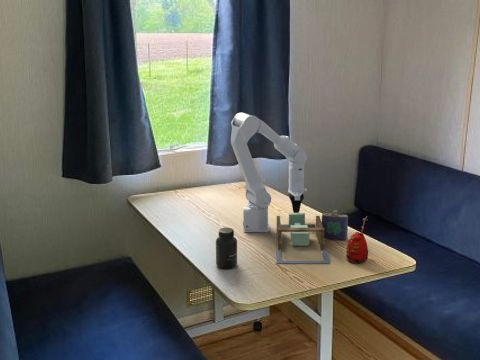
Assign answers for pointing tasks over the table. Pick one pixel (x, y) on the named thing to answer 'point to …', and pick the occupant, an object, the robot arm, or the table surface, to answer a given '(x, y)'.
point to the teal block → (298, 222)
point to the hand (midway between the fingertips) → (296, 212)
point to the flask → (335, 226)
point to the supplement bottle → (226, 249)
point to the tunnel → (318, 230)
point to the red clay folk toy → (357, 247)
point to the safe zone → (325, 255)
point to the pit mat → (305, 224)
